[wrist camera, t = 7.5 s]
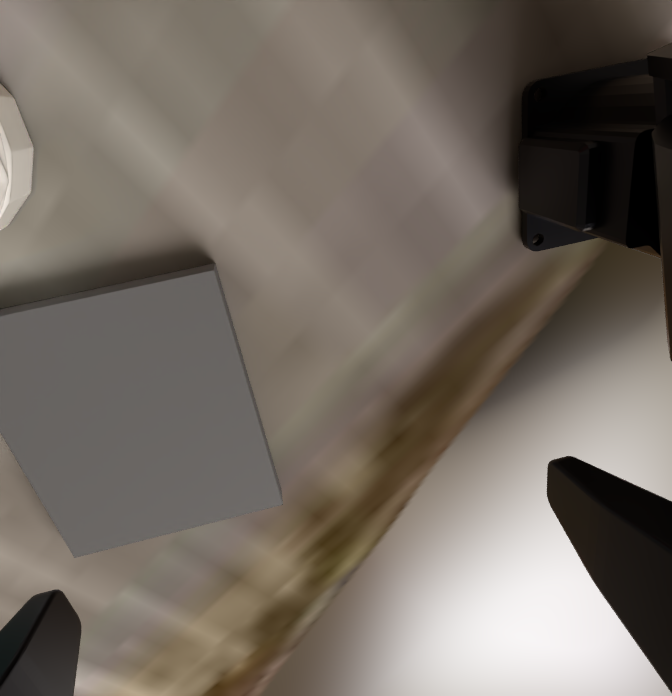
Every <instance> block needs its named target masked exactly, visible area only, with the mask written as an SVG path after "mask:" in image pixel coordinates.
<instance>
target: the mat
mask: <svg viewBox="0 0 672 696" xmlns="http://www.w3.org/2000/svg"><path fill="white" fill-rule="evenodd" d="M0 433H1V434H2V436H3V438H4V439H5V441H6V443H7V444H8V446H9V448H10V450H11V451H12V453H13V455H14V456H15V458H16V460H17V461H18V463H19V465H20V466H21V468H22V470H23V472H24V473H25V475H26V477H27V478H28V480H29V482H30V483H31V485H32V487H33V488H34V490H35V492H36V494H37V495H38V497H39V499H40V500H41V502H42V504H43V505H44V507H45V509H46V510H47V512H48V514H49V516H50V517H51V519H52V521H53V522H54V524H55V526H56V527H57V529H58V531H59V532H60V534H61V536H62V538H63V539H64V541H65V543H66V544H67V546H68V548H69V549H70V551H71V553H72V554H73V556H74V558H76V557H80V556H84V555H88V554H92V553H96V552H99V551H103V550H107V549H111V548H115V547H119V546H123V545H127V544H131V543H135V542H139V541H143V540H146V539H150V538H154V537H158V536H162V535H166V534H170V533H174V532H178V531H182V530H186V529H190V528H193V527H197V526H201V525H205V524H209V523H213V522H217V521H221V520H225V519H229V518H233V517H237V516H240V515H244V514H248V513H252V512H256V511H260V510H264V509H268V508H272V507H276V506H280V505H283V500H282V491H281V487H280V484H279V480H278V477H277V474H276V470H275V467H274V463H273V460H272V456H271V453H270V450H269V446H268V443H267V439H266V436H265V432H264V429H263V426H262V422H261V419H260V415H259V412H258V408H257V405H256V402H255V398H254V395H253V391H252V388H251V384H250V381H249V378H248V374H247V371H246V367H245V364H244V360H243V357H242V354H241V350H240V347H239V343H238V340H237V336H236V333H235V329H234V326H233V323H232V319H231V316H230V312H229V309H228V305H227V302H226V299H225V295H224V292H223V288H222V285H221V281H220V278H219V275H218V271H217V268H216V264H215V263H213V264H209V265H204V266H199V267H195V268H190V269H185V270H181V271H176V272H171V273H167V274H162V275H157V276H153V277H148V278H143V279H139V280H134V281H129V282H125V283H120V284H115V285H111V286H106V287H101V288H97V289H92V290H87V291H83V292H78V293H73V294H69V295H64V296H59V297H55V298H50V299H46V300H41V301H36V302H32V303H27V304H22V305H18V306H13V307H8V308H4V309H0Z"/></svg>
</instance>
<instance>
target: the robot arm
mask: <svg viewBox="0 0 672 696" xmlns="http://www.w3.org/2000/svg"><path fill="white" fill-rule="evenodd" d="M537 88H539V89H540V90H541V97H540V99H539V100H538V101H536V100H535V99H534V93H535V91H536V90H537ZM519 208H520V209H521V210H522V241H523V245H524V246H525V247H526V248H528V249H530V250H532V251H541V250H545V249H550V248H554V247H559V246H563V245H568V244H572V243H577V242H581V241H586V240H590V239H595V238H601V239H604V240H607V241H610V242H613V243H616V244H619V245H622V246H624V247H628V248H632V249H634V250H637V251H640V252H643V253H646V254H649V255H652V256H655V257H658V258H660V259H661V265H662V277H663V291H664V304H665V317H666V330H667V342H668V347H669V353H670V359H671V361H672V43H670V44H668V45H666V46H664V47H662V48H659V49H657V50H655V51H653V52H651V53H649V54H647V58H646V59H640V60H635V61H630V62H625V63H620V64H615V65H610V66H605V67H600V68H594V69H589V70H584V71H579V72H574V73H569V74H564V75H559V76H554V77H549V78H543V79H538V80H534V81H532V82H530V83H529V84H528V85H527V86H526V87H525V89H524V91H523V96H522V141H521V143H520V144H519ZM537 234H538V235H539V238H538V240H537V241H536V242H535V243H533V237H534V236H535V235H537ZM547 475H548V476H547V497H548V501H549V503H550V506H551V508H552V509H553V511H554V513H555V515H556V516H557V518H558V520H559V522H560V524H561V525H562V527H563V529H564V531H565V532H566V534H567V536H568V538H569V539H570V541H571V543H572V545H573V546H574V548H575V550H576V552H577V554H578V556H579V557H580V559H581V561H582V563H583V564H584V566H585V568H586V570H587V571H588V573H589V575H590V576H591V578H592V580H593V581H594V583H595V584H596V586H597V587H598V589H599V590H600V592H601V593H602V595H603V596H604V598H605V599H606V600H607V602H608V603H609V605H610V606H611V608H612V609H613V610H614V612H615V613H616V615H617V616H618V618H619V619H620V620H621V622H622V623H623V624H624V626H625V627H626V629H627V630H628V632H629V633H630V635H631V636H632V637H633V639H634V640H635V642H636V643H637V645H638V646H639V647H640V649H641V650H642V652H643V653H644V654H645V656H646V657H647V659H648V660H649V662H650V663H651V664H652V666H653V667H654V669H655V670H656V672H657V673H658V674H659V676H660V677H661V679H662V680H663V682H664V683H665V684H666V686H667V687H668V689H669V690H670V692H671V693H672V501H669V500H667V499H665V498H663V497H661V496H658V495H656V494H654V493H652V492H649V491H648V490H645V489H643V488H641V487H639V486H636V485H634V484H632V483H630V482H628V481H626V480H623V479H621V478H619V477H617V476H614V475H612V474H610V473H608V472H606V471H604V470H601V469H599V468H597V467H595V466H593V465H590V464H588V463H586V462H584V461H581V460H579V459H577V458H575V457H571V456H566V457H562V458H559V459H555V460H552V461H550V462H549V464H548V473H547ZM80 638H81V622H80V619H79V617H78V615H77V613H76V612H75V610H74V609H73V607H72V606H71V604H70V602H69V601H68V599H67V598H66V596H65V595H64V593H63V592H62V591H60V590H52V591H48V592H44V593H40V594H37V595H35V596H33V597H32V598H31V599H29V600H28V601H27V603H26V604H25V605H24V606H23V607H22V608H21V609H20V610H19V611H18V612H17V613H16V615H15V616H14V617H13V618H12V619H11V620H10V621H9V622H8V623H7V624H6V625H5V626H4V628H3V629H2V630H1V631H0V696H73V694H74V686H75V678H76V670H77V662H78V654H79V646H80Z"/></svg>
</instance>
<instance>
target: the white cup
mask: <svg viewBox="0 0 672 696" xmlns="http://www.w3.org/2000/svg"><path fill="white" fill-rule="evenodd" d="M33 152H34V147H33V144H32V142H31V139H30V137H29V134H28V132H27V129H26V127H25V124H24V122H23V119H22V117H21V114H20V112H19V109H18V107H17V104H16V102H15V99H14V98H13V96H12V95H11V94H10V93H9V92H8V91H7V90H6V89H5V88H4V87H3V85H2V84H1V83H0V230H2V229H4V228H5V227H7V226H8V225H9V224H10V222H11V221H12V219H13V218H14V216H15V215H16V213H17V212H18V210H19V209H20V208H21V206H22V205H23V203H24V202H25V200H26V199H27V197H28V196H29V194H30V193H31V186H32V169H33Z"/></svg>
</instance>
